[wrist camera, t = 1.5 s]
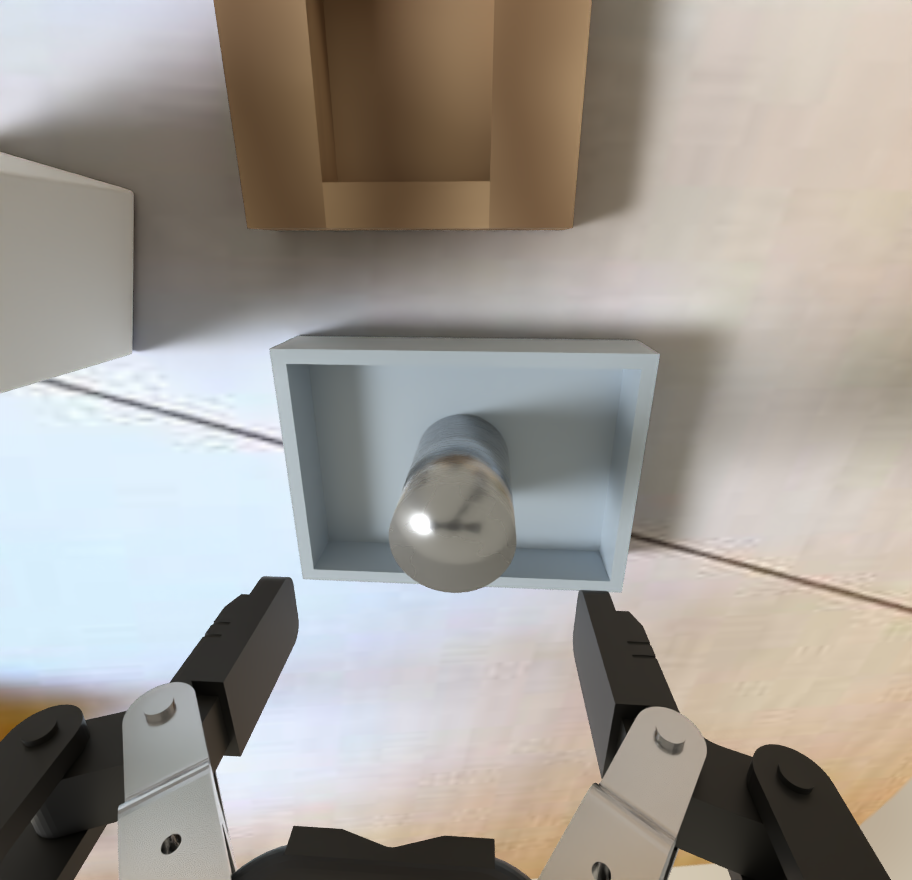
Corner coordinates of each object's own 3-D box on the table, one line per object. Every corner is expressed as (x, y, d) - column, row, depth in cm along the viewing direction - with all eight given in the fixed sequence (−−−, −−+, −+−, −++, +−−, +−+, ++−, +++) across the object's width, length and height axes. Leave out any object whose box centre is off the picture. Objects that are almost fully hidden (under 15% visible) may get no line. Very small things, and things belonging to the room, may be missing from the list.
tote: (637, 339, 21) (659, 354, 18) (607, 554, 25) (621, 592, 22) (297, 335, 22) (269, 348, 19) (322, 543, 26) (302, 579, 23)
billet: (510, 415, 22) (519, 485, 15) (506, 499, 24) (513, 594, 17) (415, 413, 22) (385, 481, 16) (418, 496, 24) (391, 589, 17)
